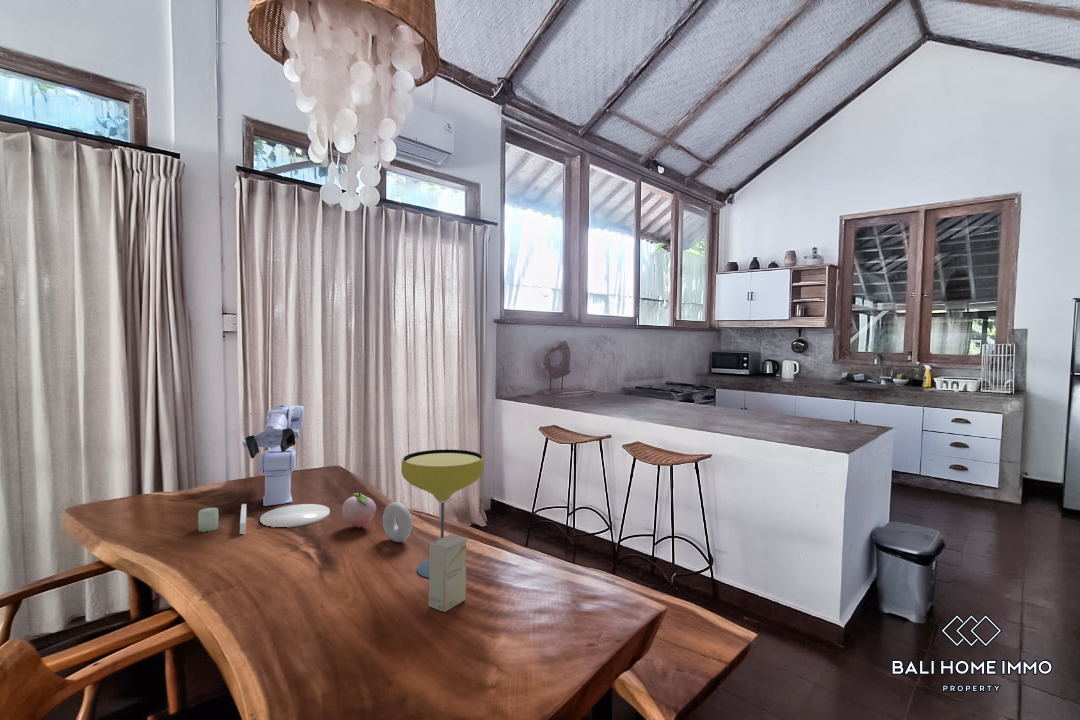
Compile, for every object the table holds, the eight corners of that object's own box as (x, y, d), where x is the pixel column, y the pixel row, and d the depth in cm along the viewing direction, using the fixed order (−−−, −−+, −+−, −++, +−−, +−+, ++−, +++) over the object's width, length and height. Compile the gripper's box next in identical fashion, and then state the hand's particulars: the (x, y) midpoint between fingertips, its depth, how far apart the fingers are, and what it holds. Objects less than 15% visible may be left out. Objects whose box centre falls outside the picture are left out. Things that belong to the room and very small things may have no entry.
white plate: (259, 512, 144) (259, 509, 144) (325, 503, 153) (325, 500, 153) (260, 531, 128) (260, 528, 128) (333, 521, 137) (333, 518, 137)
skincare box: (444, 613, 90) (445, 548, 90) (427, 606, 93) (428, 543, 92) (466, 599, 96) (467, 537, 95) (449, 593, 98) (450, 533, 98)
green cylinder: (199, 527, 131) (199, 509, 131) (218, 524, 133) (218, 506, 133) (197, 532, 127) (197, 513, 127) (217, 530, 129) (217, 511, 129)
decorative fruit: (335, 527, 132) (335, 491, 132) (363, 520, 138) (364, 485, 138) (351, 537, 126) (352, 498, 126) (380, 529, 132) (381, 492, 132)
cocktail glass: (395, 558, 114) (396, 451, 113) (470, 547, 121) (471, 447, 120) (406, 594, 97) (407, 469, 97) (492, 578, 104) (494, 463, 104)
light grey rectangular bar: (241, 514, 142) (241, 504, 142) (246, 513, 142) (246, 503, 142) (239, 534, 126) (240, 523, 126) (245, 534, 127) (245, 522, 127)
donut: (379, 538, 125) (379, 500, 125) (390, 534, 128) (391, 497, 128) (403, 548, 119) (404, 508, 119) (414, 544, 122) (415, 504, 122)
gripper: (244, 423, 143) (233, 444, 131) (297, 414, 147) (292, 433, 135) (250, 445, 145) (240, 467, 133) (302, 434, 150) (298, 455, 137)
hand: (267, 451), depth 134 cm, fingers open, 7 cm apart
